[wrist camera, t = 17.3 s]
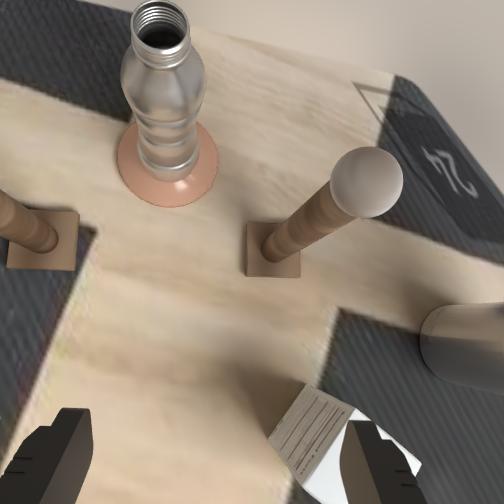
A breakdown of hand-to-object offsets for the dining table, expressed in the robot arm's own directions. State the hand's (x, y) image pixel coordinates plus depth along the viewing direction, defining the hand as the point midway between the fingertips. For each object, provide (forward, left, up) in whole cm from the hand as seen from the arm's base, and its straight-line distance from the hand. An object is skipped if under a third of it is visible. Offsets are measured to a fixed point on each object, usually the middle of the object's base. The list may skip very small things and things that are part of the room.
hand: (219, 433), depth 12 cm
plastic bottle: (+13, -17, -29) cm, 36 cm away
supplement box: (-16, +1, -30) cm, 34 cm away
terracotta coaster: (+13, -17, -30) cm, 37 cm away
